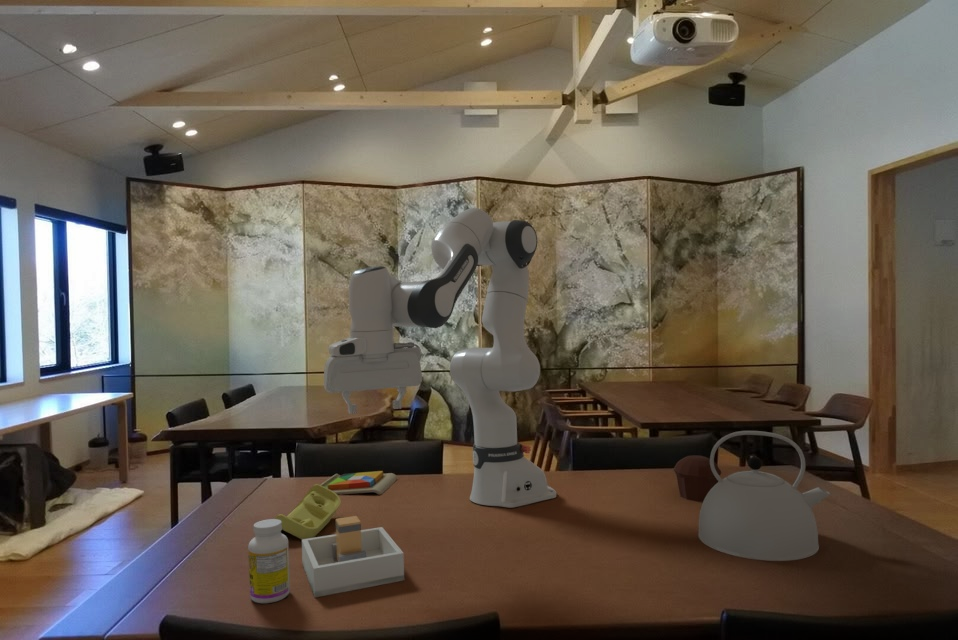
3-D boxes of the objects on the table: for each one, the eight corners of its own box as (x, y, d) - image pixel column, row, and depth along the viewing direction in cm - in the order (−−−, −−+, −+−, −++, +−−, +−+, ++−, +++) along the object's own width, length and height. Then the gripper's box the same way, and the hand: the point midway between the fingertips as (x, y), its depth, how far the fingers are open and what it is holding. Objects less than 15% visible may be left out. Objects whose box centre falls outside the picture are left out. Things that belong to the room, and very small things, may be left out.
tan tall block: (357, 556, 127) (356, 515, 127) (362, 563, 123) (360, 521, 123) (336, 560, 126) (335, 518, 125) (340, 567, 122) (339, 525, 122)
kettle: (822, 528, 140) (820, 423, 139) (842, 568, 118) (839, 445, 118) (699, 518, 148) (697, 420, 148) (697, 554, 127) (694, 439, 127)
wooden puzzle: (337, 479, 194) (336, 467, 194) (398, 480, 192) (398, 468, 191) (313, 496, 177) (313, 483, 177) (380, 497, 174) (380, 484, 174)
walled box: (382, 551, 133) (382, 526, 133) (404, 580, 118) (403, 553, 118) (302, 565, 127) (301, 539, 127) (314, 597, 112) (313, 568, 112)
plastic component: (313, 531, 140) (273, 511, 141) (301, 561, 141) (261, 540, 142) (347, 498, 159) (311, 480, 160) (336, 524, 160) (300, 506, 161)
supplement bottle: (255, 589, 116) (253, 517, 116) (293, 587, 117) (291, 515, 117) (245, 606, 110) (242, 530, 109) (285, 603, 110) (283, 528, 110)
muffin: (731, 497, 163) (730, 457, 163) (703, 505, 157) (702, 464, 157) (692, 487, 173) (691, 449, 173) (664, 494, 167) (663, 456, 167)
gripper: (416, 341, 142) (418, 404, 142) (320, 346, 134) (323, 413, 134) (424, 342, 136) (427, 408, 136) (325, 348, 128) (328, 418, 129)
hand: (375, 410), depth 135 cm, fingers open, 8 cm apart
